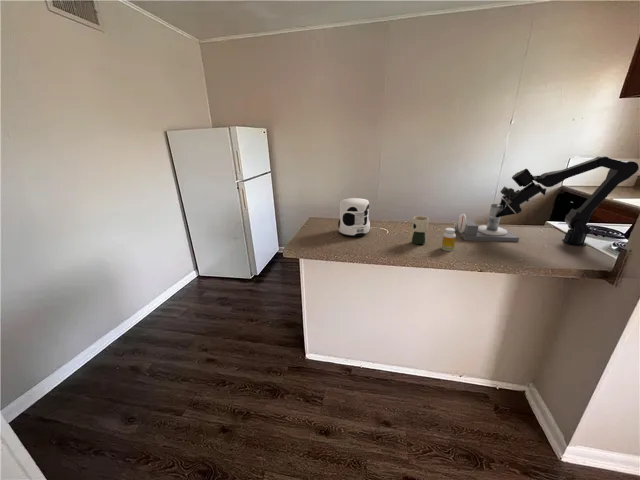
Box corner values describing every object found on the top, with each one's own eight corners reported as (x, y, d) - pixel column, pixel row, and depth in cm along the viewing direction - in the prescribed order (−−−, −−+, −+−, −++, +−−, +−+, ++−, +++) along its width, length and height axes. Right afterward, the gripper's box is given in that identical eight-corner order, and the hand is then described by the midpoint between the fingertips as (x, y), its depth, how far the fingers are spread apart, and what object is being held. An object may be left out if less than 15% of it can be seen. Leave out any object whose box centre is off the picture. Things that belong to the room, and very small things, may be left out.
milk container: (348, 226, 161) (348, 196, 154) (375, 231, 151) (376, 199, 144) (332, 235, 148) (331, 202, 141) (360, 241, 138) (361, 206, 131)
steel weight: (498, 229, 140) (504, 205, 135) (495, 232, 137) (500, 207, 132) (488, 227, 144) (493, 203, 139) (484, 229, 141) (489, 205, 136)
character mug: (409, 238, 139) (411, 214, 134) (424, 239, 138) (427, 214, 133) (411, 247, 129) (414, 221, 124) (427, 247, 128) (431, 221, 123)
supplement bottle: (454, 251, 123) (458, 231, 120) (442, 250, 124) (445, 230, 121) (452, 246, 128) (455, 227, 125) (439, 246, 129) (442, 227, 126)
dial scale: (501, 229, 148) (505, 210, 144) (518, 241, 132) (523, 220, 128) (453, 228, 152) (456, 209, 148) (464, 240, 136) (468, 219, 132)
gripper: (510, 178, 137) (481, 198, 146) (519, 184, 121) (486, 206, 130) (525, 194, 137) (495, 213, 145) (536, 203, 121) (501, 224, 129)
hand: (494, 214), depth 137 cm, fingers open, 9 cm apart
